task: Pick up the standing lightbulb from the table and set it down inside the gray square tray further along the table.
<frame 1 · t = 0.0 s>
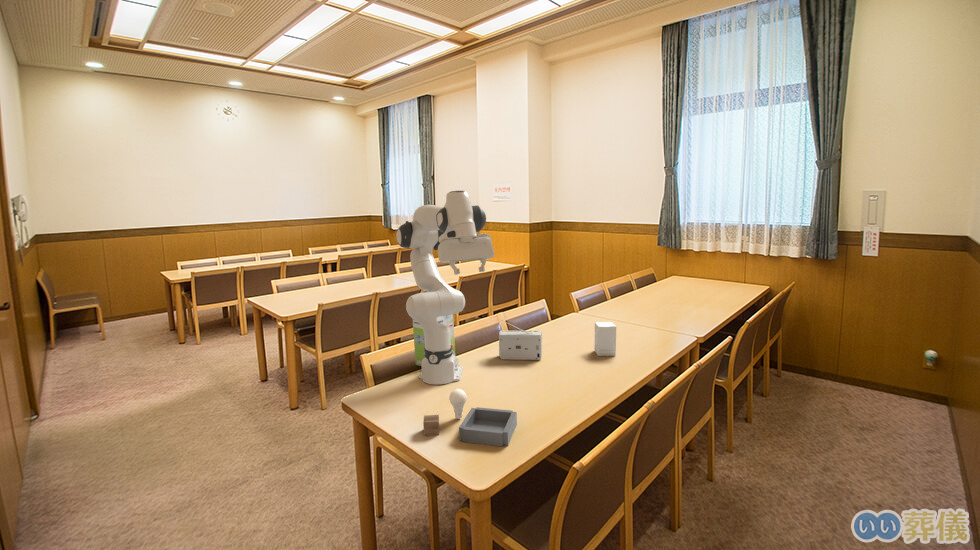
hand: (469, 273, 162), 52 cm above the table, tool tilted 20°, fingers open, 8 cm apart
toothbrush box: (436, 362, 224), on the table, touching arm
supplement box: (604, 353, 233), on the table
lightbulb: (458, 419, 167), on the table
stereo radio cassette player: (520, 358, 228), on the table
walnut block: (431, 432, 158), on the table
gray square tray: (489, 432, 157), on the table
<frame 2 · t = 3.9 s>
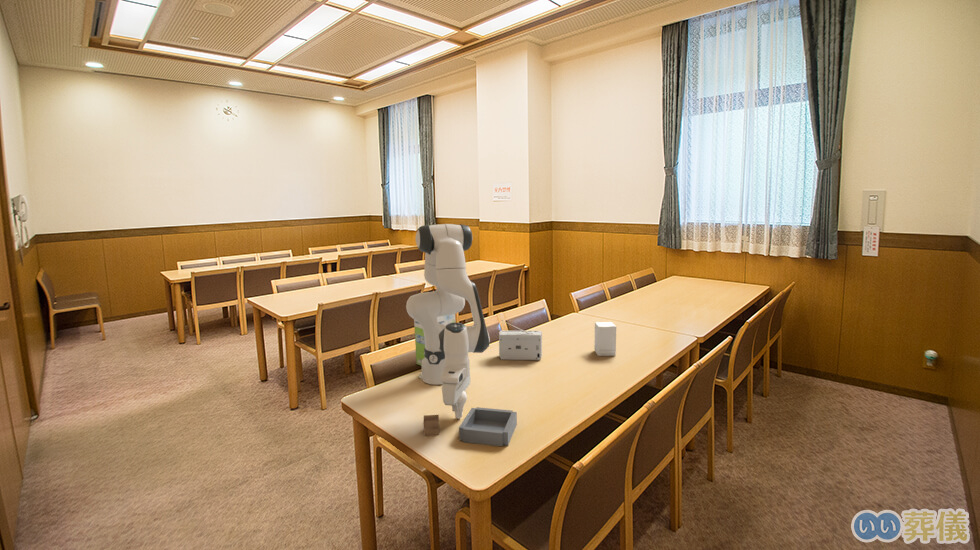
hand: (458, 406, 166), 5 cm above the table, tool pointing down, fingers closed on lightbulb, 5 cm apart
lightbulb: (458, 419, 167), on the table, touching gripper
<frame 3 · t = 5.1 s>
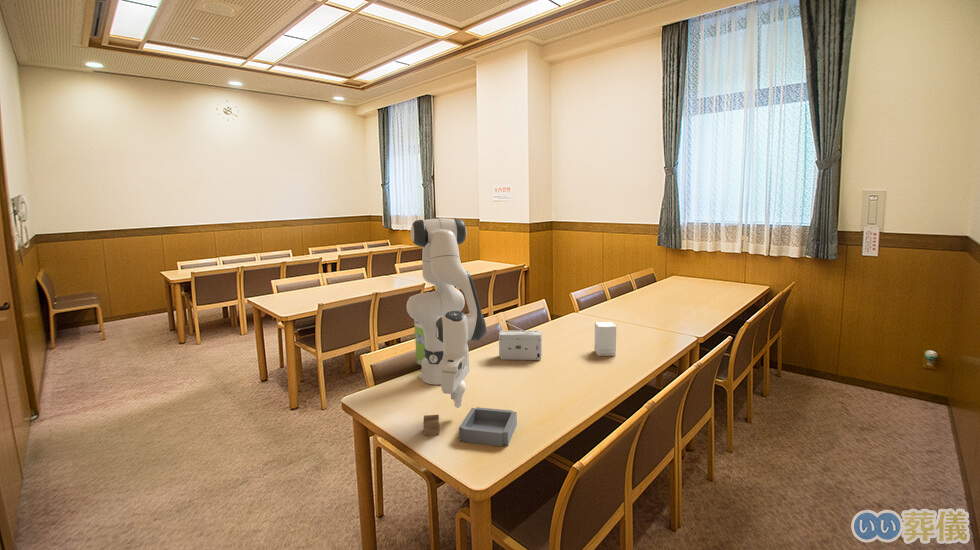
hand: (456, 394, 166), 9 cm above the table, tool pointing down, fingers closed on lightbulb, 5 cm apart
lightbulb: (458, 408, 167), point 3 cm above the table, touching gripper
everything else where it was.
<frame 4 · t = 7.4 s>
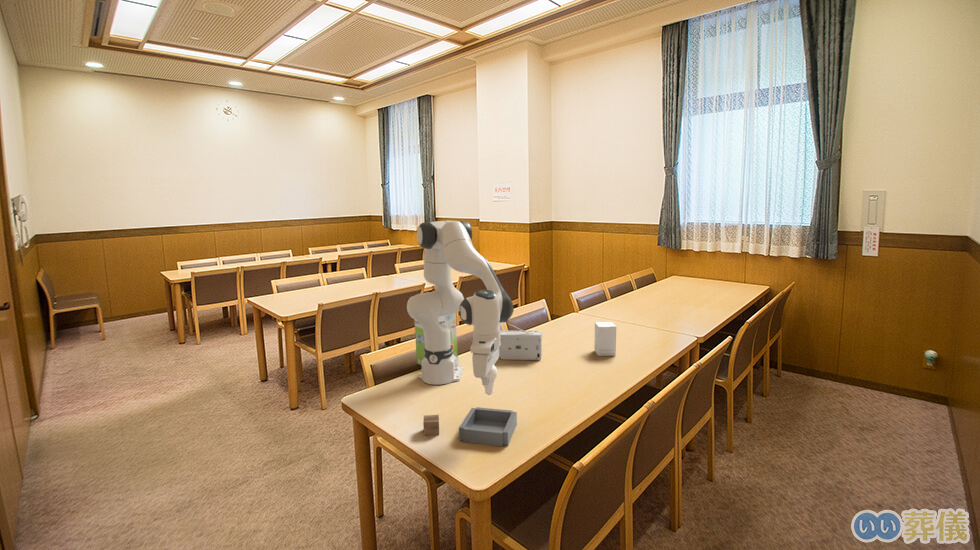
hand: (487, 380, 154), 18 cm above the table, tool pointing down, fingers closed on lightbulb, 5 cm apart
lightbulb: (489, 395, 155), point 13 cm above the table, touching gripper
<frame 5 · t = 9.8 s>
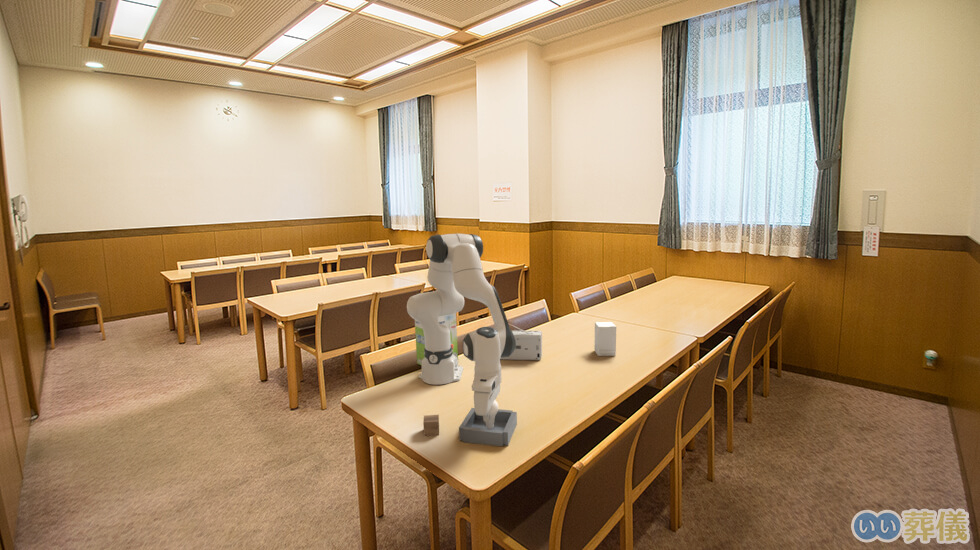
hand: (488, 416, 156), 6 cm above the table, tool pointing down, fingers closed on lightbulb, 5 cm apart
lightbulb: (490, 429, 157), resting on gray square tray, touching gripper
everything else where it was.
when the fingers open (6 cm above the table, at t = 10.4 s): lightbulb stays where it is, resting on gray square tray.
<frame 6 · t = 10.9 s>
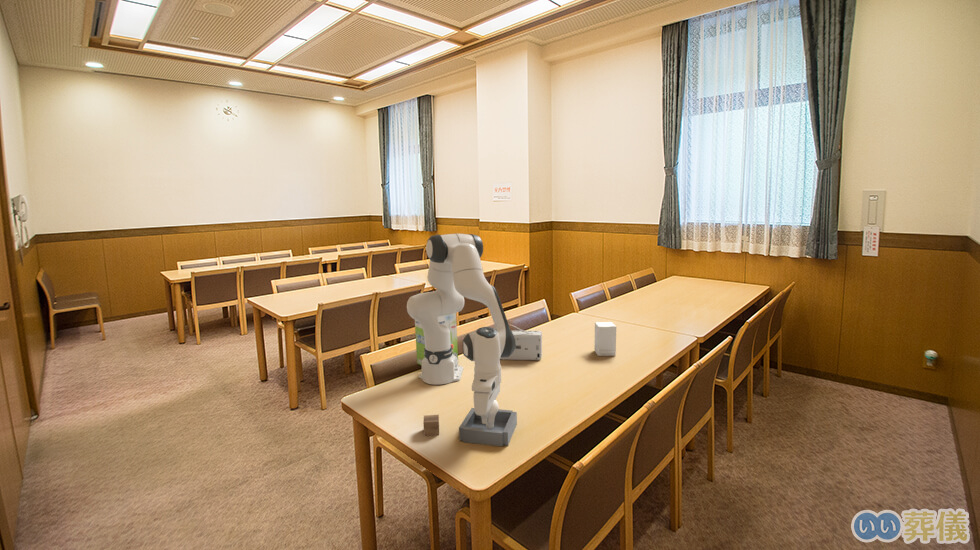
hand: (488, 416, 156), 6 cm above the table, tool pointing down, fingers open, 8 cm apart
lightbulb: (490, 429, 157), resting on gray square tray
everything else where it was.
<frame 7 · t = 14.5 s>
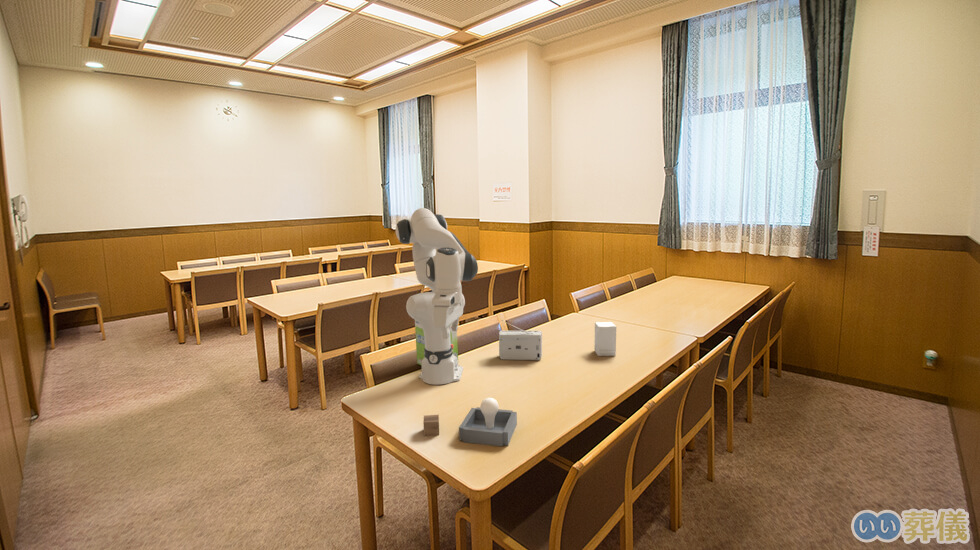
hand: (450, 334, 162), 31 cm above the table, tool pointing down, fingers open, 8 cm apart
at the end: lightbulb 0.8 cm from the gray square tray (horizontally); lightbulb resting on gray square tray; the gripper is holding nothing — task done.
